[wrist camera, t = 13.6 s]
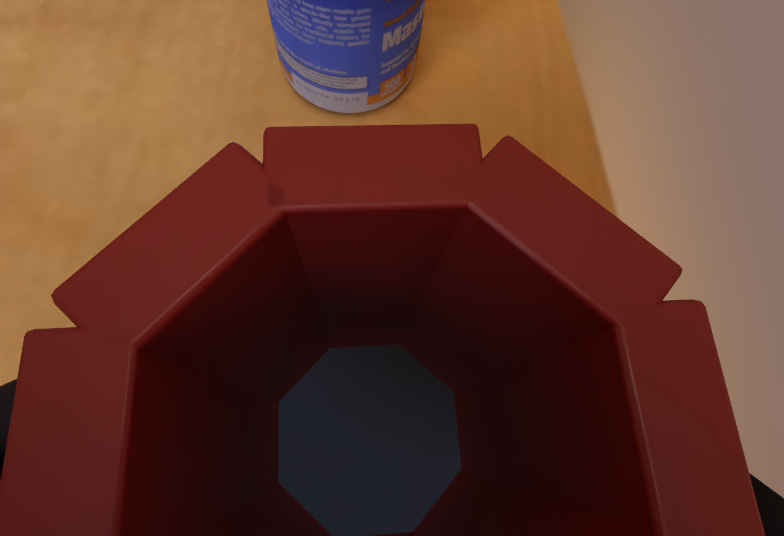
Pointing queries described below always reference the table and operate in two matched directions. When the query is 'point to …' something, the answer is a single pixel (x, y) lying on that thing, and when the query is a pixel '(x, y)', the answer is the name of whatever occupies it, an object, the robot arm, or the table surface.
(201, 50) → the table surface
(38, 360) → the red octagonal container
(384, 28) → the pill bottle
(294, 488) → the mat
